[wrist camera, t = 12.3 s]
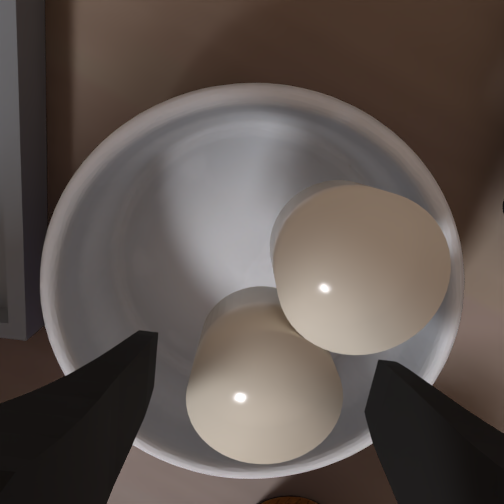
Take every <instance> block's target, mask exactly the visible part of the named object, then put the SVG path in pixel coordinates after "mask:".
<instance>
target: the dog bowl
mask: <svg viewBox="0 0 504 504" xmlns="http://www.w3.org/2000/svg"><path fill="white" fill-rule="evenodd" d="M330 180H347V181H353V182H357V183H361V184H364V185H367V186H371V187H374V188H377V189H381V190H384V191H387V192H391V193H394V194H398V195H400V196H403V197H405V198H408V199H410V200H411V201H413V202H415V203H417V204H418V205H420V206H421V207H422V208H423V209H425V210H426V211H427V212H428V213H429V214H430V215H431V216H432V217H433V218H434V219H435V221H436V222H437V224H438V225H439V226H440V228H441V230H442V232H443V234H444V236H445V238H446V241H447V244H448V247H449V252H450V259H451V272H450V280H449V284H448V288H447V292H446V294H445V297H444V299H443V302H442V303H441V305H440V307H439V309H438V310H437V312H436V313H435V315H434V316H433V317H432V319H431V320H430V321H429V322H428V323H427V324H426V325H425V327H424V328H423V329H421V330H420V331H419V332H418V333H417V334H416V335H414V336H413V337H411V338H410V339H408V340H407V341H405V342H403V343H402V344H400V345H398V346H396V347H393V348H391V349H388V350H386V351H382V352H378V353H373V354H367V355H346V354H339V353H335V352H331V351H329V352H330V354H331V357H332V359H333V362H334V364H335V367H336V369H337V372H338V374H339V377H340V379H341V384H342V388H343V404H342V409H341V413H340V416H339V419H338V421H337V423H336V425H335V427H334V428H333V430H332V431H331V433H330V434H329V435H328V436H327V438H326V439H325V440H324V441H323V442H322V443H321V444H319V445H318V446H317V447H315V448H314V449H313V450H311V451H309V452H308V453H306V454H304V455H302V456H300V457H298V458H295V459H292V460H289V461H285V462H281V463H274V464H253V463H246V462H241V461H238V460H235V459H232V458H229V457H227V456H225V455H223V454H221V453H219V452H218V451H216V450H214V449H213V448H212V447H210V446H209V445H208V444H207V443H206V442H205V441H204V440H203V439H202V438H201V437H200V436H199V434H198V433H197V432H196V430H195V429H194V427H193V425H192V423H191V421H190V418H189V415H188V411H187V407H186V391H187V386H188V382H189V378H190V374H191V370H192V366H193V362H194V359H195V355H196V351H197V347H198V343H199V339H200V335H201V332H202V328H203V324H204V322H205V320H206V318H207V316H208V314H209V313H210V311H211V310H212V309H213V307H214V306H215V305H216V304H217V303H218V302H219V301H221V300H222V299H223V298H225V297H226V296H228V295H230V294H231V293H233V292H236V291H238V290H241V289H245V288H249V287H256V286H267V287H275V288H276V283H275V278H274V273H273V268H272V263H271V257H270V236H271V232H272V228H273V225H274V223H275V220H276V218H277V217H278V215H279V213H280V211H281V210H282V209H283V207H284V206H285V205H286V204H287V203H288V202H289V201H290V200H291V198H293V197H294V196H295V195H296V194H298V193H299V192H301V191H302V190H304V189H306V188H307V187H310V186H312V185H314V184H317V183H321V182H324V181H330ZM464 280H465V279H464V264H463V254H462V248H461V243H460V238H459V235H458V231H457V227H456V224H455V221H454V218H453V215H452V213H451V210H450V207H449V205H448V203H447V201H446V199H445V197H444V195H443V192H442V191H441V189H440V187H439V185H438V184H437V182H436V180H435V179H434V177H433V176H432V174H431V173H430V171H429V170H428V169H427V167H426V166H425V165H424V163H423V162H422V161H421V159H420V158H419V157H418V156H417V155H416V154H415V152H414V151H413V150H412V149H411V148H410V147H409V146H408V145H407V144H406V143H405V142H404V141H403V140H402V139H401V138H399V137H398V136H397V135H396V134H395V133H394V132H393V131H391V130H390V129H389V128H387V127H386V126H385V125H383V124H382V123H381V122H379V121H378V120H376V119H375V118H374V117H372V116H370V115H369V114H367V113H365V112H364V111H362V110H360V109H358V108H356V107H354V106H352V105H350V104H348V103H346V102H344V101H341V100H339V99H337V98H334V97H332V96H329V95H326V94H323V93H320V92H316V91H313V90H309V89H305V88H300V87H295V86H290V85H282V84H272V83H236V84H228V85H220V86H214V87H208V88H203V89H199V90H196V91H192V92H188V93H185V94H182V95H179V96H176V97H174V98H171V99H169V100H167V101H164V102H162V103H160V104H157V105H155V106H153V107H151V108H149V109H147V110H145V111H144V112H142V113H140V114H138V115H137V116H135V117H134V118H132V119H131V120H129V121H128V122H126V123H125V124H123V125H122V126H120V127H119V128H118V129H116V130H115V131H114V132H113V133H112V134H110V135H109V136H108V137H107V138H106V139H104V140H103V141H102V142H101V143H100V144H99V145H98V146H97V147H96V148H95V149H94V150H93V151H92V153H91V154H90V155H89V156H88V157H87V158H86V159H85V160H84V162H83V163H82V164H81V166H80V167H79V168H78V170H77V171H76V172H75V174H74V175H73V176H72V178H71V180H70V181H69V183H68V184H67V186H66V188H65V190H64V191H63V193H62V195H61V197H60V199H59V201H58V203H57V205H56V208H55V210H54V212H53V215H52V218H51V221H50V224H49V226H48V229H47V233H46V237H45V242H44V246H43V252H42V258H41V268H40V297H41V306H42V313H43V318H44V323H45V327H46V331H47V334H48V338H49V341H50V344H51V346H52V349H53V352H54V354H55V356H56V359H57V361H58V363H59V365H60V367H61V369H62V371H63V373H64V374H65V376H66V375H68V374H70V373H72V372H74V371H75V370H77V369H79V368H81V367H82V366H84V365H86V364H87V363H89V362H91V361H93V360H94V359H96V358H98V357H99V356H101V355H102V354H104V353H106V352H107V351H109V350H110V349H112V348H113V347H115V346H116V345H118V344H119V343H121V342H122V341H124V340H125V339H127V338H128V337H130V336H131V335H132V334H134V333H136V332H137V331H139V330H142V331H151V332H158V344H157V357H156V369H155V382H154V389H153V393H152V396H151V399H150V402H149V406H148V409H147V412H146V415H145V418H144V420H143V422H142V424H141V427H140V429H139V431H138V433H137V436H136V438H135V440H134V442H133V444H132V445H134V446H136V447H137V448H139V449H141V450H143V451H144V452H146V453H148V454H150V455H152V456H154V457H156V458H158V459H160V460H163V461H165V462H168V463H170V464H173V465H175V466H178V467H181V468H185V469H188V470H191V471H194V472H198V473H203V474H208V475H212V476H219V477H226V478H240V479H260V478H273V477H282V476H288V475H294V474H298V473H303V472H308V471H311V470H314V469H318V468H321V467H324V466H327V465H330V464H333V463H335V462H338V461H340V460H342V459H345V458H347V457H349V456H351V455H353V454H355V453H357V452H359V451H361V450H363V449H364V448H366V447H368V446H369V445H371V444H373V442H372V439H371V435H370V432H369V429H368V425H367V421H366V417H365V413H364V411H365V407H366V403H367V400H368V396H369V392H370V388H371V385H372V381H373V377H374V374H375V370H376V366H377V363H378V359H379V360H388V361H396V362H398V363H400V364H402V365H403V366H405V367H406V368H408V369H409V370H411V371H412V372H414V373H415V374H417V375H418V376H419V377H421V378H422V379H424V380H425V381H426V382H428V383H429V384H431V385H433V384H434V382H435V380H436V379H437V377H438V375H439V374H440V372H441V370H442V369H443V367H444V365H445V363H446V361H447V359H448V357H449V354H450V352H451V349H452V347H453V344H454V341H455V338H456V335H457V331H458V328H459V324H460V320H461V314H462V308H463V300H464Z"/></svg>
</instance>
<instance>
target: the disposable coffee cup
mask: <svg viewBox="0 0 504 504" xmlns="http://www.w3.org/2000/svg"><path fill="white" fill-rule="evenodd" d="M261 504H318V503H316V502H314V501H311V500H309V499H305V498H301V497H278V498H274V499H270V500H267V501H265V502H263V503H261Z"/></svg>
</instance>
